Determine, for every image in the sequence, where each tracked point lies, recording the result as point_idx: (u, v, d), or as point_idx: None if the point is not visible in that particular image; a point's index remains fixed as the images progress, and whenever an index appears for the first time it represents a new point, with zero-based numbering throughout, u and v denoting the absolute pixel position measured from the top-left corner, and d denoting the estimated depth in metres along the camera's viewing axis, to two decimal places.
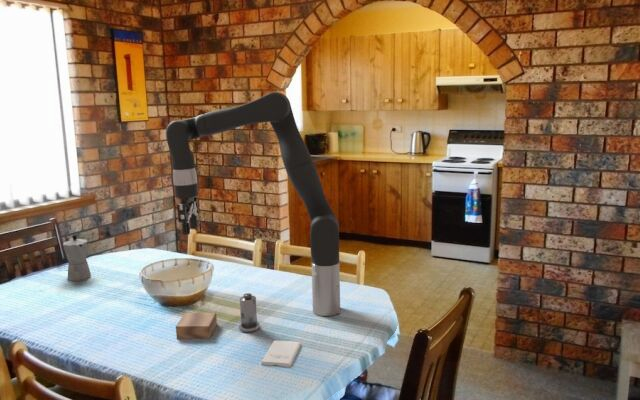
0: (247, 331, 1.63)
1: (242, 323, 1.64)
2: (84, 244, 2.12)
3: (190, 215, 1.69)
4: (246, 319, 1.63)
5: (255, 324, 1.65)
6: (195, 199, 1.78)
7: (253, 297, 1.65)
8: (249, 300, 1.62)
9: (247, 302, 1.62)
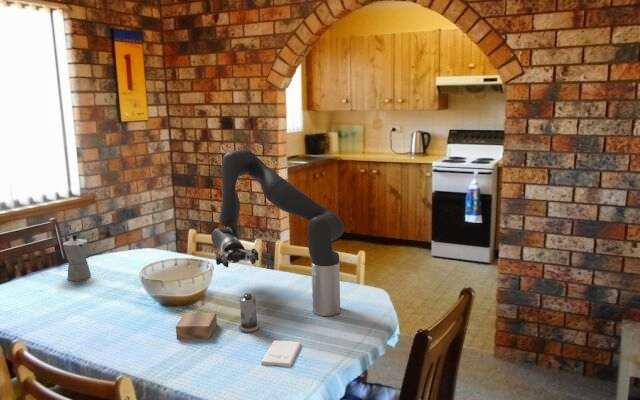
0: (247, 331, 1.63)
1: (242, 323, 1.64)
2: (84, 244, 2.12)
3: (226, 254, 1.77)
4: (246, 319, 1.63)
5: (255, 324, 1.65)
6: None
7: (253, 297, 1.65)
8: (249, 300, 1.62)
9: (247, 302, 1.62)
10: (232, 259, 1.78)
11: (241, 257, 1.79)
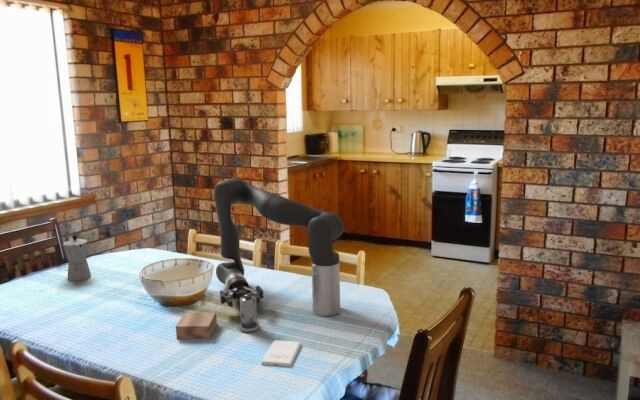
0: (247, 331, 1.63)
1: (242, 323, 1.64)
2: (84, 244, 2.12)
3: (231, 292, 1.75)
4: (246, 319, 1.63)
5: (255, 324, 1.65)
6: (256, 287, 1.81)
7: (253, 297, 1.65)
8: (249, 300, 1.62)
9: (247, 302, 1.62)
10: (237, 297, 1.76)
11: None
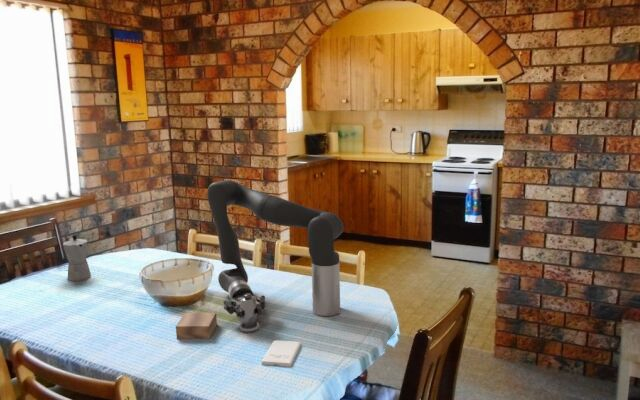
0: (247, 331, 1.63)
1: (242, 323, 1.64)
2: (84, 244, 2.12)
3: (238, 302, 1.67)
4: (246, 319, 1.63)
5: (255, 324, 1.65)
6: (261, 297, 1.73)
7: (253, 297, 1.65)
8: (249, 300, 1.62)
9: (247, 302, 1.62)
10: None
11: None
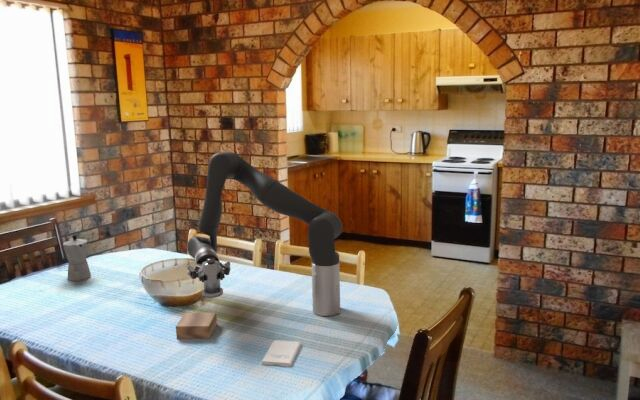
0: (209, 296, 1.60)
1: (205, 288, 1.61)
2: (84, 244, 2.12)
3: (201, 267, 1.64)
4: (209, 284, 1.60)
5: (218, 289, 1.62)
6: None
7: (216, 262, 1.62)
8: (212, 264, 1.59)
9: (209, 266, 1.59)
10: None
11: None
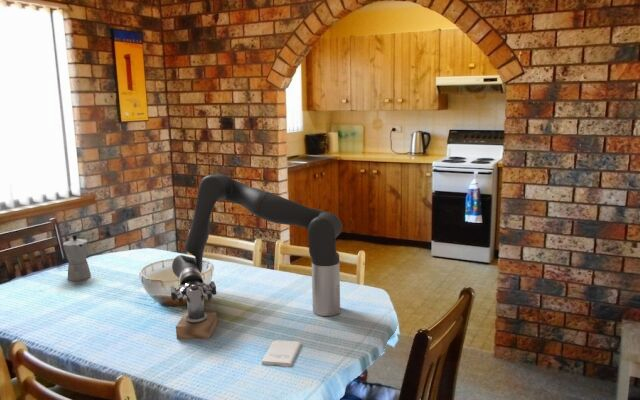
0: (193, 322, 1.61)
1: (189, 314, 1.62)
2: (84, 244, 2.12)
3: (182, 288, 1.65)
4: (192, 310, 1.61)
5: (202, 315, 1.62)
6: None
7: (200, 287, 1.63)
8: (195, 290, 1.60)
9: (193, 292, 1.60)
10: None
11: None
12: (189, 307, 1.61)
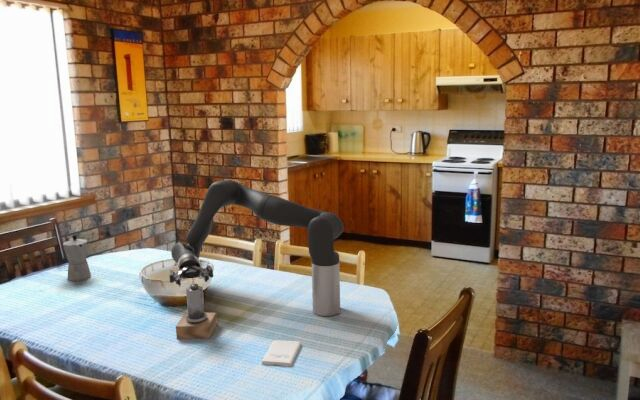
0: (193, 322, 1.61)
1: (189, 314, 1.62)
2: (84, 244, 2.12)
3: (180, 271, 1.77)
4: (192, 310, 1.61)
5: (202, 315, 1.62)
6: (207, 267, 1.83)
7: (200, 287, 1.63)
8: (195, 290, 1.60)
9: (193, 292, 1.60)
10: (186, 276, 1.78)
11: (195, 274, 1.79)
12: (189, 307, 1.61)
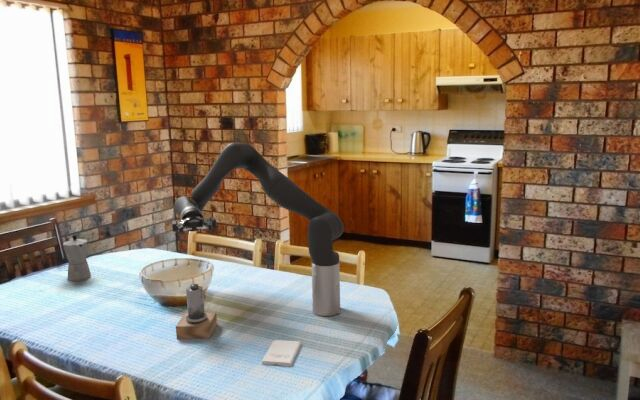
0: (193, 322, 1.61)
1: (189, 314, 1.62)
2: (84, 244, 2.12)
3: (183, 221, 1.74)
4: (192, 310, 1.61)
5: (202, 315, 1.62)
6: None
7: (200, 287, 1.63)
8: (195, 290, 1.60)
9: (193, 292, 1.60)
10: (189, 226, 1.75)
11: (198, 224, 1.76)
12: (189, 307, 1.61)
